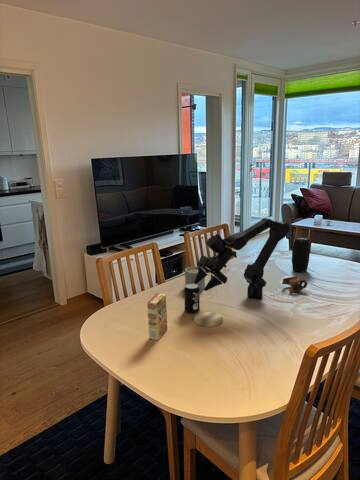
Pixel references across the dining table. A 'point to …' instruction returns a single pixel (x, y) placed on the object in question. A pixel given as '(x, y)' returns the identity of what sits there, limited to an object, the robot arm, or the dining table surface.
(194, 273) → the coffee mug
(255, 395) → the dining table surface
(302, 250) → the portable speaker
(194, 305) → the beverage can
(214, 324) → the disc
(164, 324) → the candy box
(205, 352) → the dining table surface
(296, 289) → the pottery mug
